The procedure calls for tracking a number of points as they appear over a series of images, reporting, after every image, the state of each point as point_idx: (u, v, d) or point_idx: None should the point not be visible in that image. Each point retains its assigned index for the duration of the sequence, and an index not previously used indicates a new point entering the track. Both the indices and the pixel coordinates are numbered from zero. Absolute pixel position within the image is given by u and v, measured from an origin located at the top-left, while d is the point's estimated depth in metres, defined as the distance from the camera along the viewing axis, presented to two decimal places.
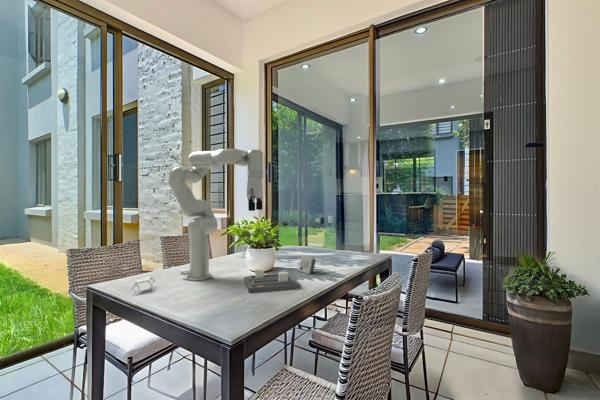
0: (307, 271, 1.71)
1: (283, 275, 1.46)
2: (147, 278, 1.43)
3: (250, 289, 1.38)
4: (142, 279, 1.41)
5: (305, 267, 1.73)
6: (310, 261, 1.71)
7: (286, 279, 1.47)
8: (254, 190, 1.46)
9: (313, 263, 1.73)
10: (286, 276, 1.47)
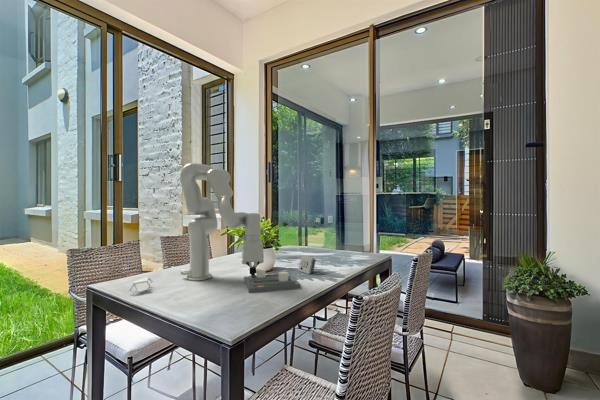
0: (307, 271, 1.71)
1: (283, 275, 1.46)
2: (145, 279, 1.42)
3: (250, 289, 1.38)
4: (140, 280, 1.40)
5: (305, 267, 1.73)
6: (310, 261, 1.71)
7: (286, 279, 1.47)
8: None
9: (313, 263, 1.73)
10: (286, 276, 1.47)
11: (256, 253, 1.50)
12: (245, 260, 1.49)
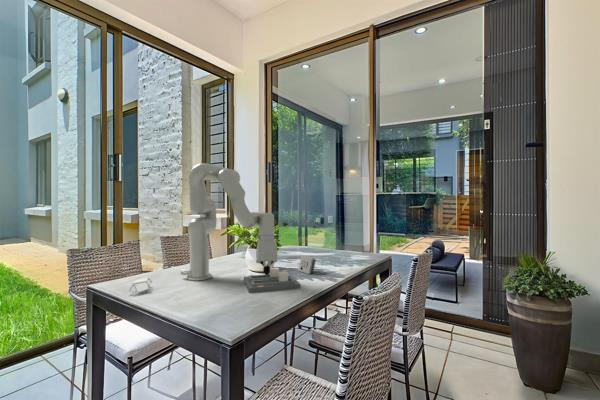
0: (307, 271, 1.71)
1: (283, 275, 1.46)
2: (144, 279, 1.42)
3: (250, 289, 1.38)
4: (139, 280, 1.40)
5: (305, 267, 1.73)
6: (310, 261, 1.71)
7: (286, 279, 1.47)
8: None
9: (313, 263, 1.73)
10: (286, 276, 1.47)
11: (270, 252, 1.52)
12: (259, 259, 1.51)
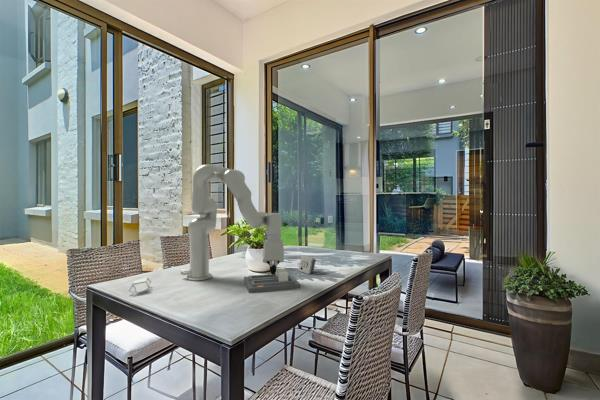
0: (307, 271, 1.71)
1: (283, 275, 1.46)
2: (144, 279, 1.41)
3: (250, 289, 1.38)
4: (139, 280, 1.40)
5: (305, 267, 1.73)
6: (310, 261, 1.71)
7: (286, 279, 1.47)
8: None
9: (313, 263, 1.73)
10: (286, 276, 1.47)
11: (277, 252, 1.53)
12: (266, 259, 1.52)
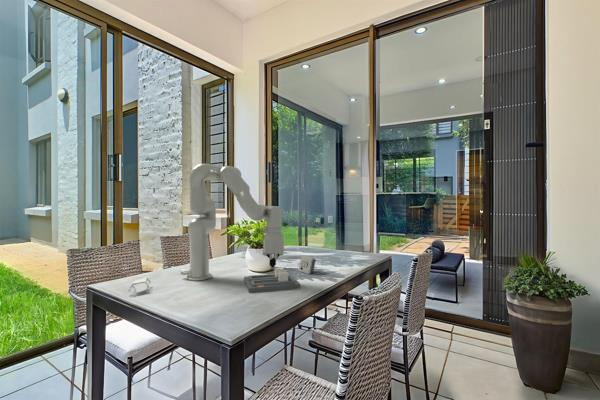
0: (307, 271, 1.71)
1: (283, 275, 1.46)
2: (143, 279, 1.41)
3: (250, 289, 1.38)
4: (138, 280, 1.39)
5: (305, 267, 1.73)
6: (310, 261, 1.71)
7: (286, 279, 1.47)
8: None
9: (313, 263, 1.73)
10: (286, 276, 1.47)
11: (277, 245, 1.53)
12: (266, 252, 1.52)
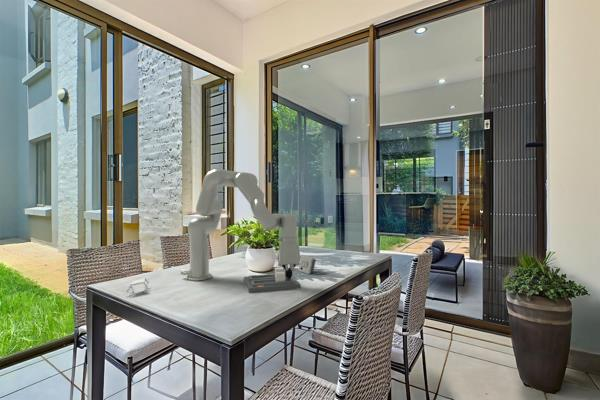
0: (307, 271, 1.71)
1: (280, 275, 1.46)
2: (142, 280, 1.40)
3: (250, 289, 1.38)
4: (137, 281, 1.38)
5: (305, 267, 1.73)
6: (310, 261, 1.71)
7: (283, 279, 1.46)
8: None
9: (313, 263, 1.73)
10: (283, 276, 1.46)
11: (293, 255, 1.46)
12: (282, 263, 1.45)
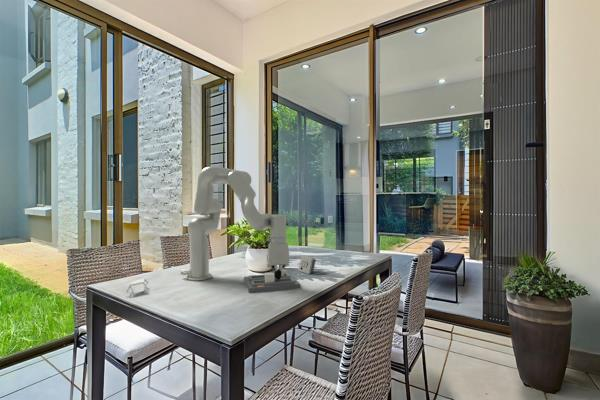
0: (307, 271, 1.71)
1: (269, 276, 1.44)
2: (141, 280, 1.40)
3: (250, 289, 1.38)
4: (136, 281, 1.38)
5: (305, 267, 1.73)
6: (310, 261, 1.71)
7: (272, 280, 1.45)
8: None
9: (313, 263, 1.73)
10: (272, 277, 1.45)
11: (282, 256, 1.45)
12: (271, 263, 1.43)
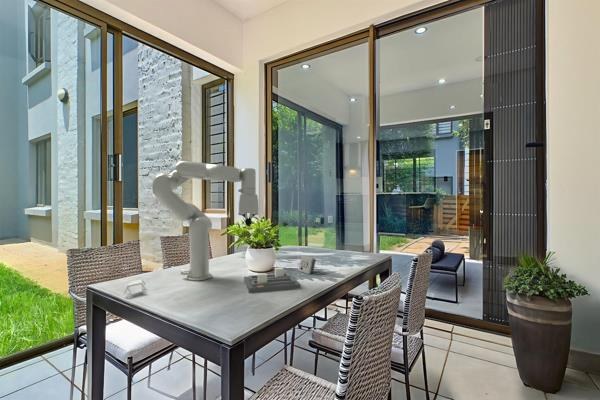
0: (307, 271, 1.71)
1: (262, 277, 1.43)
2: (139, 281, 1.39)
3: (250, 289, 1.38)
4: (134, 282, 1.37)
5: (305, 267, 1.73)
6: (310, 261, 1.71)
7: (265, 281, 1.44)
8: None
9: (313, 263, 1.73)
10: (265, 278, 1.44)
11: (251, 205, 1.62)
12: (241, 211, 1.60)
